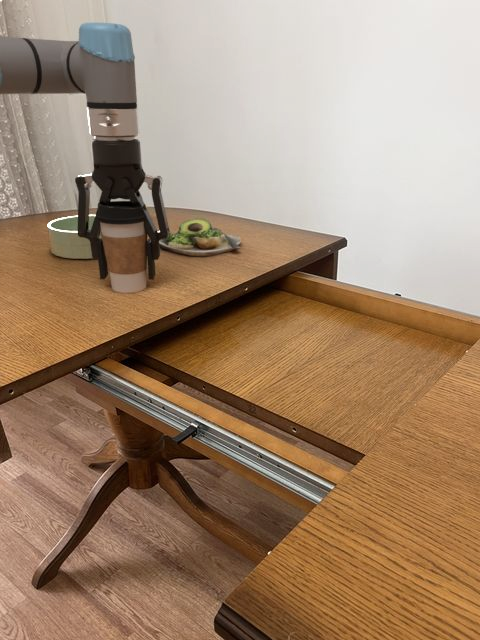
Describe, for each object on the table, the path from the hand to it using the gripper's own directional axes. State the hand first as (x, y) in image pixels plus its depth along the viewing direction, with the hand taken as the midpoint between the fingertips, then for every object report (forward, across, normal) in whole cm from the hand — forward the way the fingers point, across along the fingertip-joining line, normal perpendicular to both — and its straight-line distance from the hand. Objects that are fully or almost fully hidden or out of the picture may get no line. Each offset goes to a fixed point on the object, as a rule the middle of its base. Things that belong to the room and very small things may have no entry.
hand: (128, 276), depth 95 cm
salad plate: (+2, +10, +28) cm, 30 cm away
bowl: (+2, -13, +23) cm, 27 cm away
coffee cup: (+2, 0, 0) cm, 2 cm away
